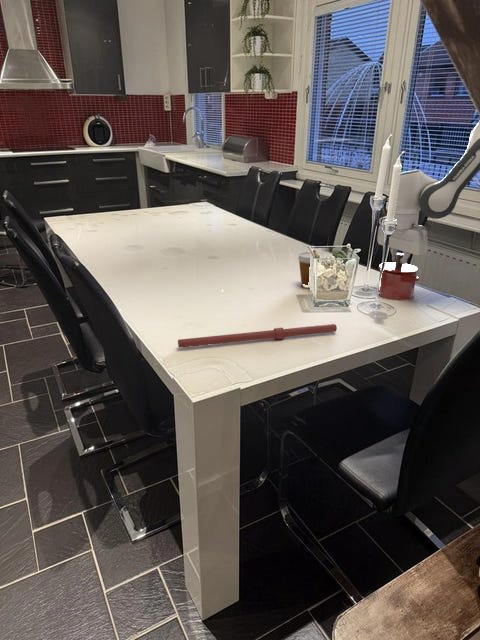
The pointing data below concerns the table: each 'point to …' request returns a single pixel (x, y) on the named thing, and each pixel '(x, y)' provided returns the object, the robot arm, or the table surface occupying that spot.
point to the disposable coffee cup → (304, 267)
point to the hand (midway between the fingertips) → (399, 262)
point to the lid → (399, 266)
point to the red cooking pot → (397, 285)
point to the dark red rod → (257, 335)
